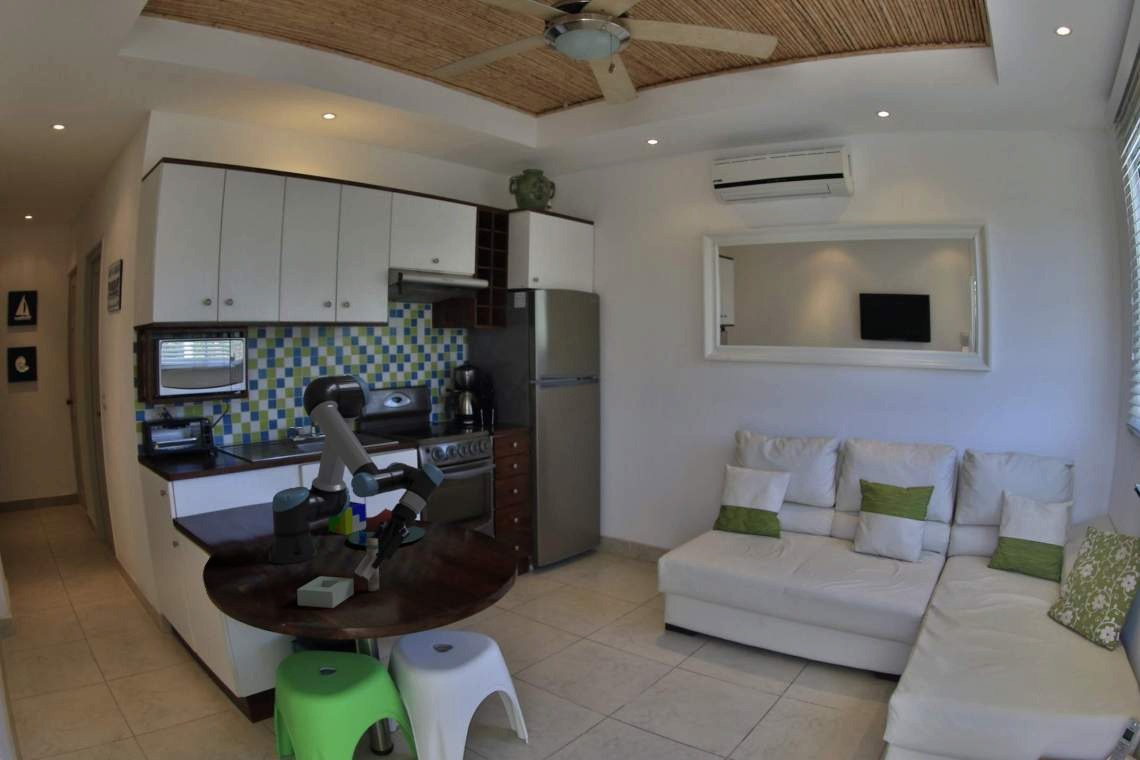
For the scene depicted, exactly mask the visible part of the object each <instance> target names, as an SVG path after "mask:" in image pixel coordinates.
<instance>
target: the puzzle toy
mask: <svg viewBox="0 0 1140 760" xmlns="http://www.w3.org/2000/svg"><path fill="white" fill-rule="evenodd" d="M366 505H367V504H366V503H361V502H355V501H350V504H349V507H348V509H347V510H346V511H345V512H344V513H343V514H341V515H339V516H336V517H334V518H328V532H330V531H332V532H331V533H335V532H336V533H335V534H341V535H345V536H347V535H351V534H353V532H354V533H355V532H356V531H359V530H362V529H365V528H366V526H367V511H366V509H367V508H366V507H367V506H366Z"/></svg>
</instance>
